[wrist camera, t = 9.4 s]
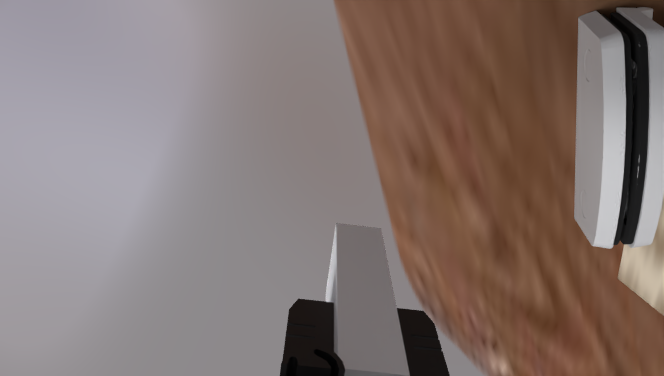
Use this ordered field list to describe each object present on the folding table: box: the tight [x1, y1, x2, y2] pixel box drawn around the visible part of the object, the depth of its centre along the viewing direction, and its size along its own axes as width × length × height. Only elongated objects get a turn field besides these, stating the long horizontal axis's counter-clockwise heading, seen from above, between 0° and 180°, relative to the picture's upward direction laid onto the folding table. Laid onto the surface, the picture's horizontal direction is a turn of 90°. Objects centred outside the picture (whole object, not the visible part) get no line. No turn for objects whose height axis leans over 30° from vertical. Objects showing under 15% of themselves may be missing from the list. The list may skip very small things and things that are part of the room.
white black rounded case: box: [574, 7, 664, 249], centre depth 35 cm, size 17×5×10 cm, turn 9°
